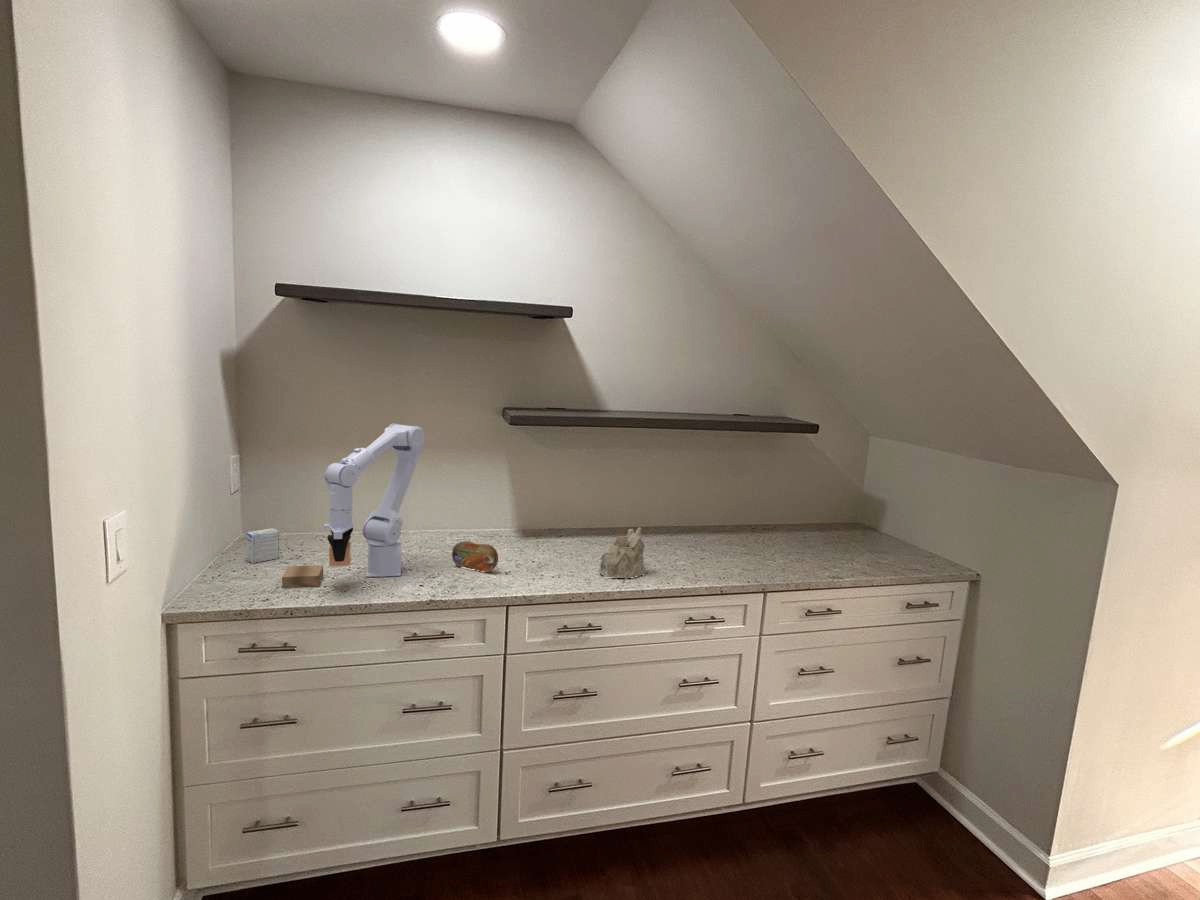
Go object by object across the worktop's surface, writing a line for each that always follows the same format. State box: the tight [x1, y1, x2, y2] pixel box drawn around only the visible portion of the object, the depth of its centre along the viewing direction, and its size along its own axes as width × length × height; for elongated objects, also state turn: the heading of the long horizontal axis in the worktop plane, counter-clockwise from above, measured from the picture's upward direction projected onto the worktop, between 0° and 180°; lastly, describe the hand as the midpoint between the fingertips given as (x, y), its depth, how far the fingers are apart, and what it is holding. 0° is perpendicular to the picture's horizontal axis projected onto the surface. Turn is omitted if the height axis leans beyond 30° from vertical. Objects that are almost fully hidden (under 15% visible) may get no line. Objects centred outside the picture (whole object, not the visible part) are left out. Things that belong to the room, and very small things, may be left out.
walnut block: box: [281, 564, 324, 589], centre depth 173 cm, size 9×9×3 cm
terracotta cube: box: [328, 541, 352, 567], centre depth 169 cm, size 5×5×5 cm
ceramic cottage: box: [597, 527, 646, 578], centre depth 197 cm, size 16×16×15 cm
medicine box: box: [245, 527, 281, 564], centre depth 188 cm, size 8×4×9 cm, turn 141°
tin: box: [451, 540, 499, 573], centre depth 191 cm, size 15×3×8 cm, turn 68°
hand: (340, 557), depth 169 cm, fingers closed on terracotta cube, 5 cm apart
